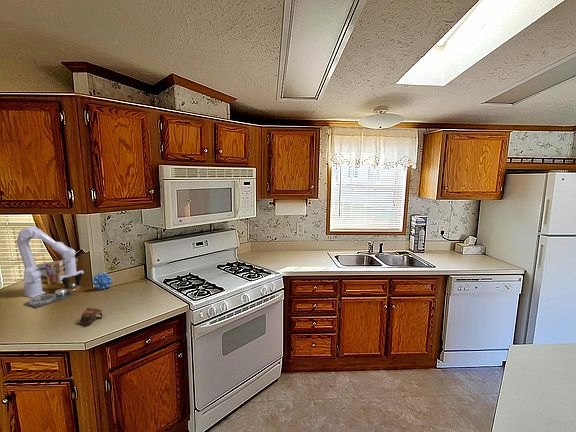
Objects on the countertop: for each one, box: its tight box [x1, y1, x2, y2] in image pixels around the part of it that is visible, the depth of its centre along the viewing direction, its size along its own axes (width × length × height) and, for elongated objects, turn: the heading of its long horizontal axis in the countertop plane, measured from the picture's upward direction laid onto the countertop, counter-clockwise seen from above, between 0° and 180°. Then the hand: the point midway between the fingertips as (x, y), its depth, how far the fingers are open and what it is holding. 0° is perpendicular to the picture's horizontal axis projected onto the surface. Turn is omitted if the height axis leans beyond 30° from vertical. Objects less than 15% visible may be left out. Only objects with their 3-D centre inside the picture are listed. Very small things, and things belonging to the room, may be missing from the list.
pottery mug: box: [79, 307, 103, 326], centre depth 151 cm, size 12×10×8 cm
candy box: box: [45, 261, 64, 285], centre depth 207 cm, size 9×4×15 cm, turn 99°
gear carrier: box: [23, 287, 75, 309], centre depth 178 cm, size 13×20×4 cm, turn 157°
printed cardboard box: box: [36, 257, 79, 278], centre depth 223 cm, size 25×8×11 cm, turn 143°
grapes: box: [91, 272, 113, 291], centre depth 193 cm, size 12×7×12 cm, turn 139°
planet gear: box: [66, 282, 82, 293], centre depth 194 cm, size 8×8×4 cm
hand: (72, 286), depth 194 cm, fingers open, 6 cm apart
